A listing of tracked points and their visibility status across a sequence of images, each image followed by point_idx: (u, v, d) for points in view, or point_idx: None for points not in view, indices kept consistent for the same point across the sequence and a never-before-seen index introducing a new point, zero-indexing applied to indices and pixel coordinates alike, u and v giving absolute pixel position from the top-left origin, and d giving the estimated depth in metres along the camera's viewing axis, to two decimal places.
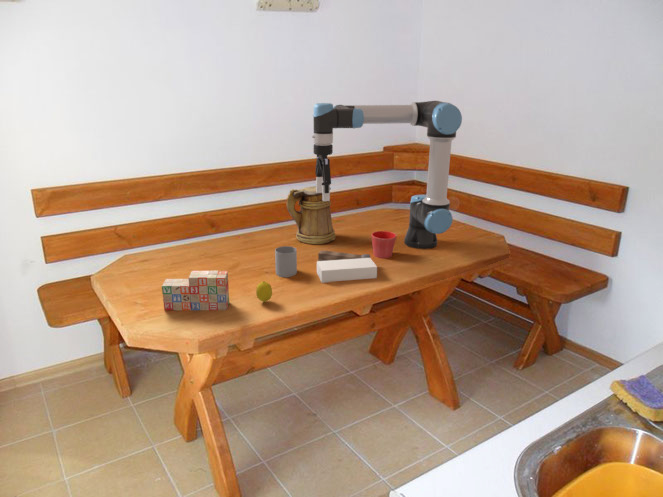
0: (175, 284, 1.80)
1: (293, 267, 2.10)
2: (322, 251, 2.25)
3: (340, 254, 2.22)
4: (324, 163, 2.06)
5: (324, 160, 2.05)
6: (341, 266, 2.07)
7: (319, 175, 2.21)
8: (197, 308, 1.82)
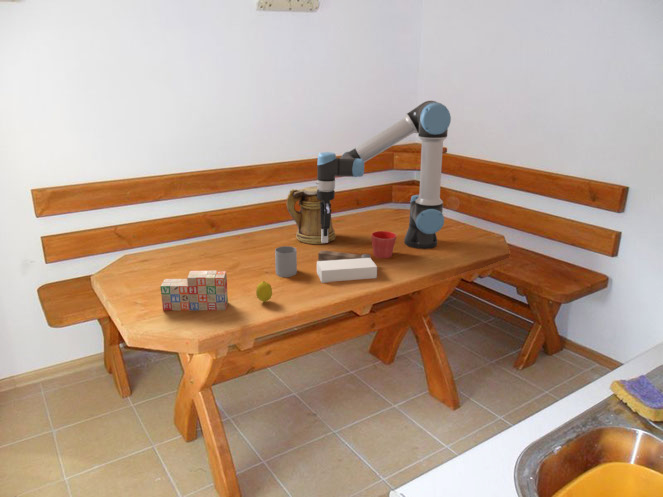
0: (173, 284, 1.80)
1: (293, 267, 2.10)
2: (322, 251, 2.25)
3: (340, 254, 2.22)
4: (326, 213, 2.24)
5: (326, 211, 2.23)
6: (341, 266, 2.07)
7: None
8: (196, 308, 1.82)
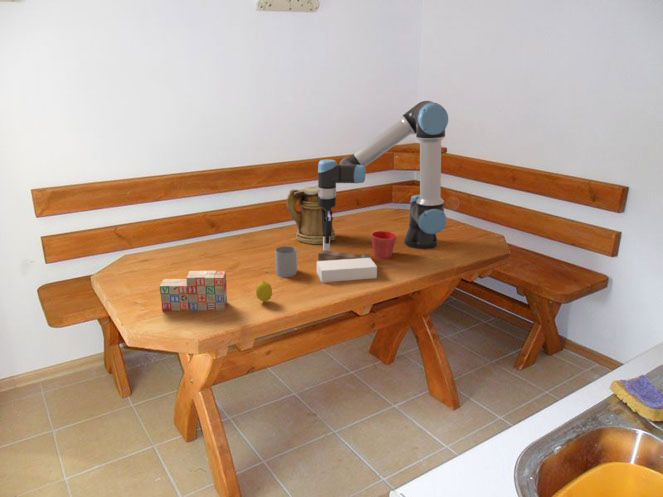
0: (172, 284, 1.80)
1: (293, 267, 2.10)
2: (322, 251, 2.25)
3: (340, 254, 2.22)
4: (327, 220, 2.22)
5: (327, 218, 2.21)
6: (341, 266, 2.07)
7: None
8: (195, 308, 1.82)
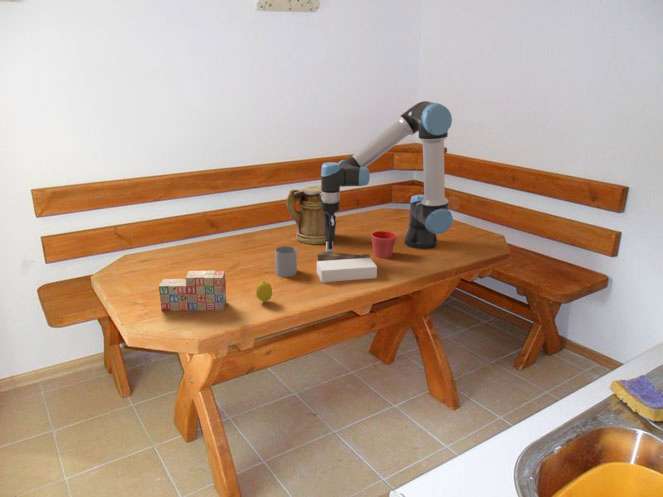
0: (172, 284, 1.80)
1: (293, 267, 2.10)
2: (321, 252, 2.24)
3: (340, 255, 2.21)
4: (330, 225, 2.16)
5: (331, 223, 2.15)
6: (341, 266, 2.07)
7: None
8: (194, 308, 1.82)
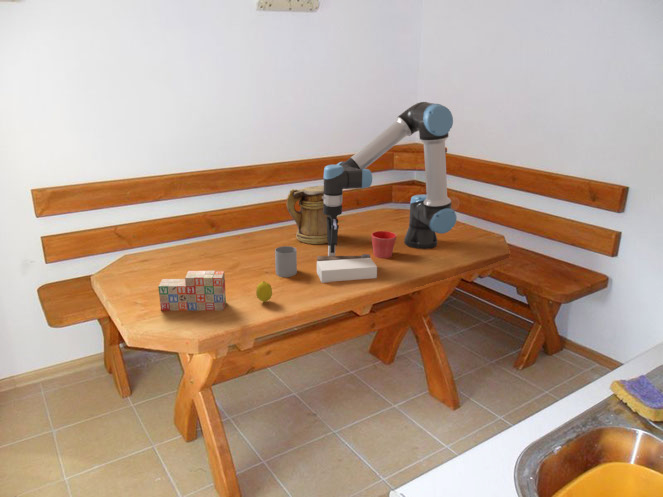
0: (171, 284, 1.80)
1: (293, 267, 2.10)
2: (319, 257, 2.19)
3: (339, 257, 2.18)
4: (333, 229, 2.11)
5: (333, 227, 2.10)
6: (341, 266, 2.07)
7: None
8: (194, 308, 1.82)
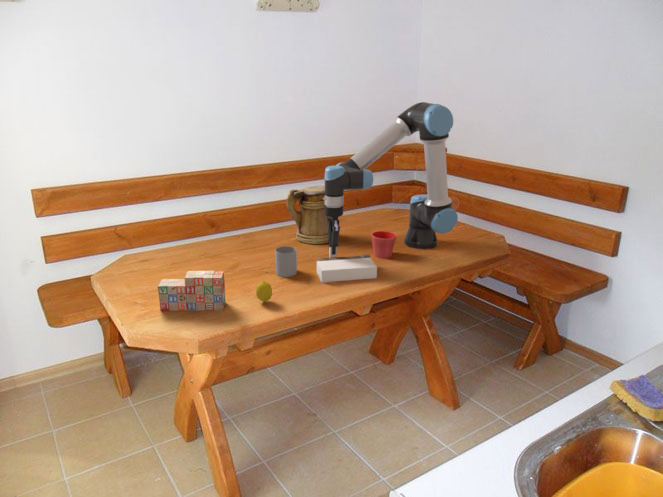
0: (171, 284, 1.80)
1: (293, 267, 2.10)
2: (319, 259, 2.16)
3: (340, 259, 2.17)
4: (334, 230, 2.10)
5: (334, 228, 2.09)
6: (341, 266, 2.07)
7: None
8: (193, 308, 1.82)
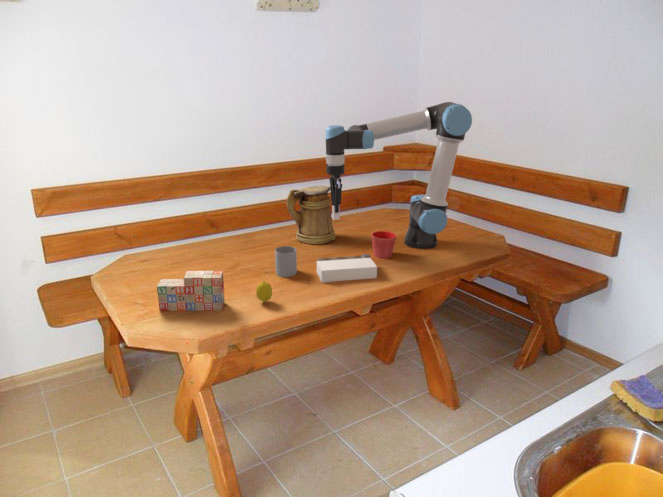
0: (170, 284, 1.80)
1: (293, 267, 2.10)
2: (319, 259, 2.16)
3: (340, 259, 2.17)
4: (336, 188, 2.17)
5: (337, 186, 2.16)
6: (341, 266, 2.07)
7: None
8: (192, 308, 1.82)
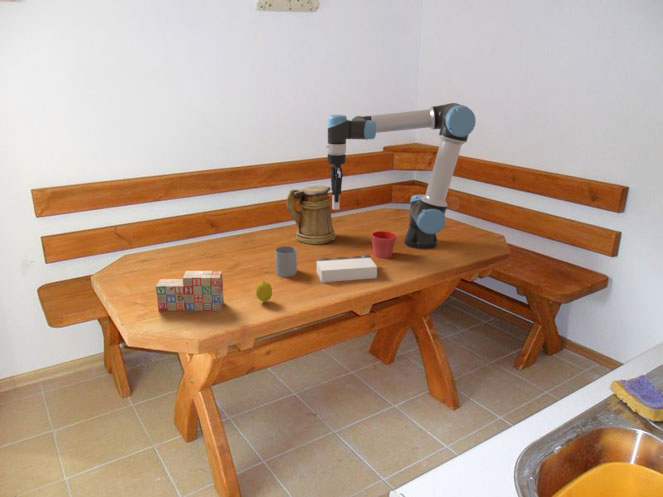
0: (169, 284, 1.80)
1: (293, 267, 2.10)
2: (319, 259, 2.16)
3: (340, 259, 2.17)
4: (337, 177, 2.17)
5: (337, 175, 2.17)
6: (341, 266, 2.07)
7: None
8: (191, 308, 1.82)
